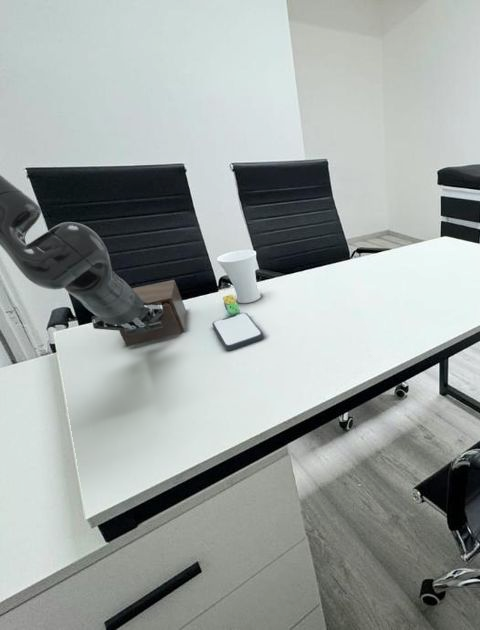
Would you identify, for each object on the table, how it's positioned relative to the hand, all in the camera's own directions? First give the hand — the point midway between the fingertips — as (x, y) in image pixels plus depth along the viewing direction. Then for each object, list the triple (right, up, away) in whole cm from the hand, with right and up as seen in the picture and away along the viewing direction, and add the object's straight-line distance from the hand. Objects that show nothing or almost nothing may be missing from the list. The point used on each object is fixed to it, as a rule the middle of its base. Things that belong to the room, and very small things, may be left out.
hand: (143, 328), depth 88 cm
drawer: (-4, -1, +10) cm, 10 cm away
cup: (+12, +8, +27) cm, 31 cm away
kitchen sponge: (+13, +3, +17) cm, 21 cm away
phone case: (+18, -2, +8) cm, 20 cm away
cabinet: (-6, 0, +14) cm, 15 cm away
